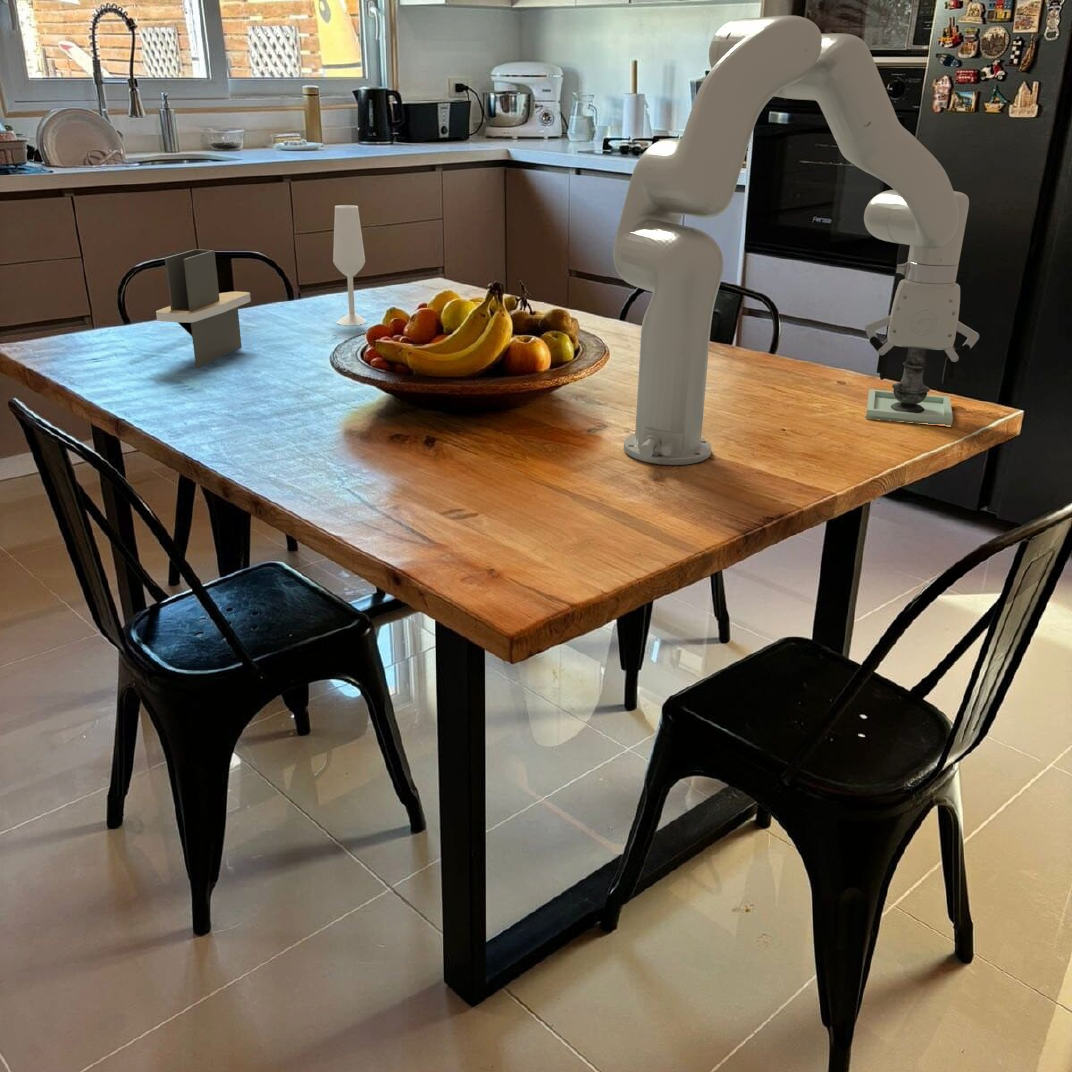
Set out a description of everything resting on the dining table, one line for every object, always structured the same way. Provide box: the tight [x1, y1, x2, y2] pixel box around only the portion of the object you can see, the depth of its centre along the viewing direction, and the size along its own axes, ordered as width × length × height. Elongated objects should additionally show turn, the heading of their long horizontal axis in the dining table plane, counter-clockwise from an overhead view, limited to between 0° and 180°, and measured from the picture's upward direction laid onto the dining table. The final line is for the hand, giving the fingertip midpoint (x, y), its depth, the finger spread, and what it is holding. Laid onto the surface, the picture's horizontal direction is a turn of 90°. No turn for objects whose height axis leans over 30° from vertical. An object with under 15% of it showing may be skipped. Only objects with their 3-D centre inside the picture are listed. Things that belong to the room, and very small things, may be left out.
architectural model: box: [155, 249, 252, 369], centre depth 194 cm, size 38×25×20 cm, turn 168°
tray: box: [865, 388, 954, 425], centre depth 173 cm, size 13×13×2 cm
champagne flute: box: [332, 204, 367, 326], centre depth 222 cm, size 7×7×24 cm
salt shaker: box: [891, 347, 931, 413], centre depth 170 cm, size 6×6×12 cm
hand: (913, 380), depth 171 cm, fingers open, 9 cm apart
